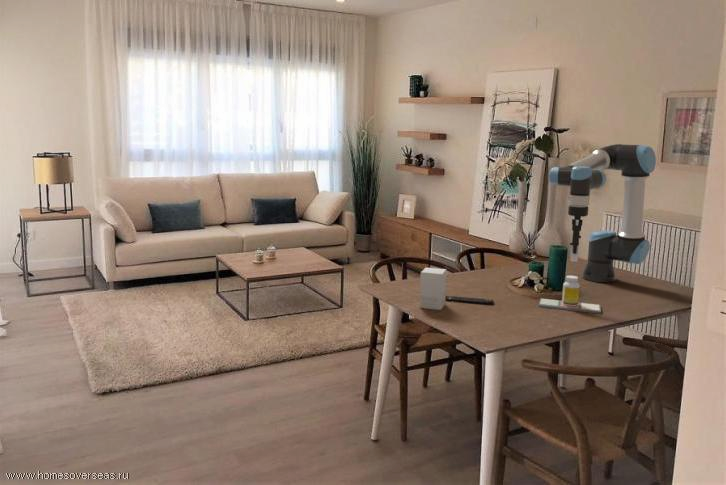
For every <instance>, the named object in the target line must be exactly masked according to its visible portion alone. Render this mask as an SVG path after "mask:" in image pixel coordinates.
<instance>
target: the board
mask: <svg viewBox="0 0 726 485" xmlns="http://www.w3.org/2000/svg"><path fill="white" fill-rule="evenodd" d="M538 307H540V308H547V309H555V310H556V309H557V310H564V311H566V310H567V311H572V312H573V311H575V312H584V313H592V314H599V315H600V314H602V309H601V308H602V307H601V304H596V303H588V302H578V305H577V306H567V305H564V304H563V303H562V299H559V300H558V299H551V298H542V297H541V298H539V303H538Z"/></svg>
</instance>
